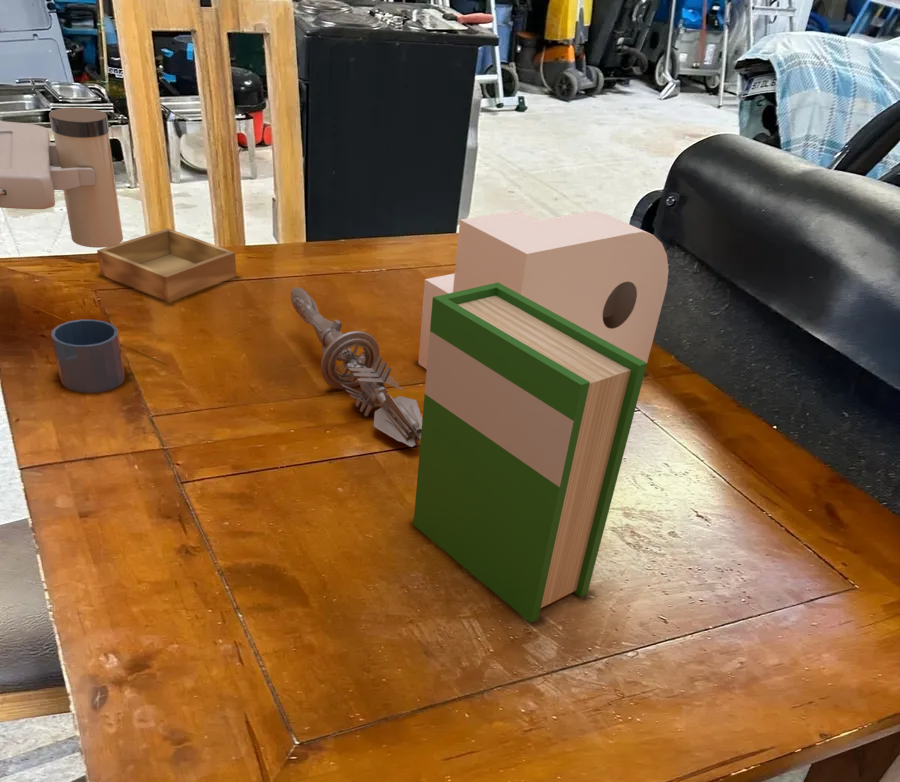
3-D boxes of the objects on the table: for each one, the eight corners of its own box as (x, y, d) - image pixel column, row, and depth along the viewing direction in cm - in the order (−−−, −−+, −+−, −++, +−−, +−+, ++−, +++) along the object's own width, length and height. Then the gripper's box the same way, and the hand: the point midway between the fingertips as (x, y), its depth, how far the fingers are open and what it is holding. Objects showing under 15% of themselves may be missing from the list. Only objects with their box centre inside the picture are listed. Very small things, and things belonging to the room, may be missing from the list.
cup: (48, 380, 105) (37, 332, 101) (96, 360, 110) (88, 313, 106) (90, 400, 103) (80, 352, 99) (137, 379, 108) (131, 332, 104)
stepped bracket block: (558, 328, 131) (585, 181, 118) (643, 376, 122) (683, 223, 108) (418, 364, 118) (430, 204, 104) (501, 422, 108) (526, 253, 95)
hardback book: (586, 596, 84) (647, 363, 69) (530, 624, 81) (581, 385, 65) (468, 504, 94) (497, 282, 78) (413, 526, 90) (432, 297, 75)
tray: (101, 278, 129) (96, 250, 126) (170, 254, 138) (168, 228, 135) (169, 306, 124) (166, 277, 121) (236, 279, 133) (235, 252, 130)
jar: (59, 238, 109) (37, 112, 100) (99, 226, 113) (81, 104, 104) (95, 252, 107) (75, 124, 98) (134, 239, 111) (118, 116, 102)
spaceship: (327, 270, 118) (276, 255, 113) (461, 417, 99) (407, 406, 94) (305, 323, 122) (254, 310, 117) (429, 474, 103) (376, 467, 98)
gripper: (-49, 162, 91) (93, 163, 96) (-38, 110, 106) (85, 113, 110) (-34, 225, 96) (102, 223, 100) (-25, 167, 110) (94, 167, 114)
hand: (93, 165), depth 105 cm, fingers closed on jar, 6 cm apart
